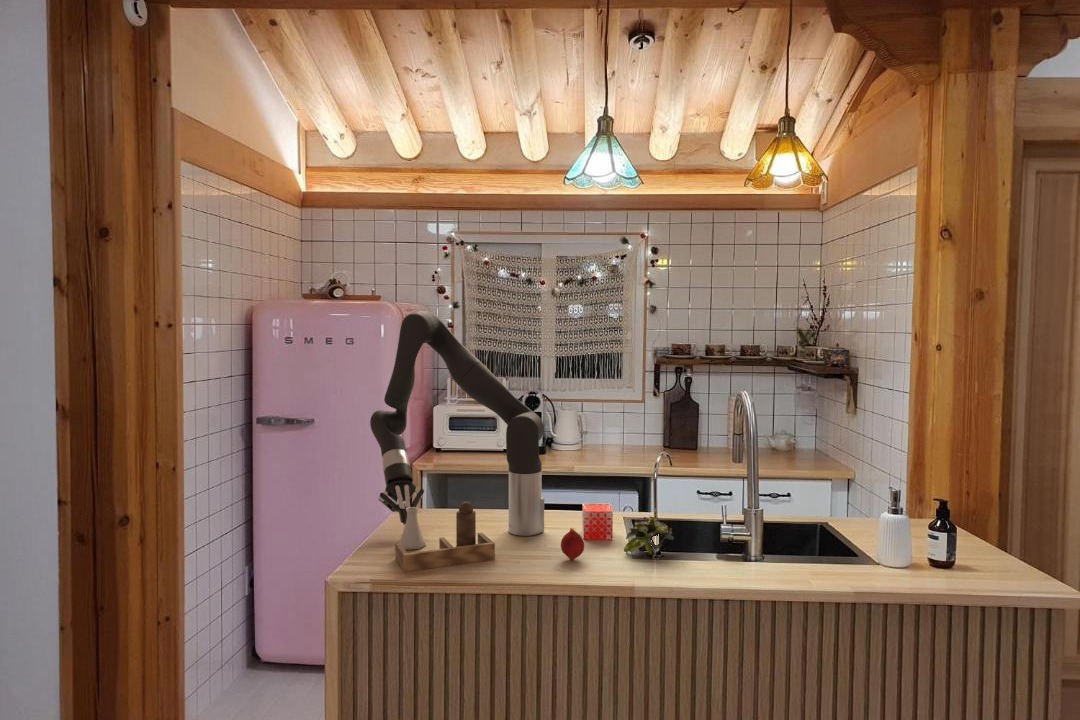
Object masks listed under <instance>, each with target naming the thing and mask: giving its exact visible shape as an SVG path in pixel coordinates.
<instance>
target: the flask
mask: <svg viewBox="0 0 1080 720" xmlns="http://www.w3.org/2000/svg"><path fill="white" fill-rule="evenodd" d="M418 511H419V509H418V507H417V506H416V507H408V508H406V512H407V519H406V524H405V525H404V529H403V531H402V534H401V535H400V540H399V542H398V543H401V544H402V546H403V547H404V549H405V550H406V551H408V550H410V551H411V550H420V549H422V548H424V547H426V540H425V539H424V536H423V534H422V531H421V527H420V525H419V521H418Z"/></svg>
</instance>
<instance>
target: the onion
mask: <svg viewBox="0 0 1080 720" xmlns="http://www.w3.org/2000/svg"><path fill="white" fill-rule="evenodd" d="M584 541H585V540H583V536H581V535H580V533H579V532H577V531H576V530H575V529H574V528H573V527H570V529H569V531H567V533H566V534H564V535H563V537H562V539H561V542H560V550H561V552H562V553H563V554H564V555H565V556H566V557H567V558H568V559H569V560H571V561H574V560H575V559H576V558H579V557H580V556H581V555H582V554H583V553H584V550H585V542H584Z"/></svg>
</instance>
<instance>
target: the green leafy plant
mask: <svg viewBox="0 0 1080 720" xmlns="http://www.w3.org/2000/svg"><path fill="white" fill-rule="evenodd" d="M655 518H657V520H655ZM643 520H644V521H641V520H640V522H635V523H634V527H629V530H630V531H628V532H627V535H626V537H625V539H626V540H628V539H629V538H631V537H633V538H632V539H629V541H628V542H627V543H626V544H625V547H624V549H623V552H625V554H626V555H627V554H628V553H629V552H630V553H632V552H635V551H637V550H638V549H640V548H642V547H644V546H645V547H644V548H645V549H646V551H647V553H648V554H650V555H652V560H654V558H655V555H656V553H657V551H658V549H660V548H662V547H663V542H664V541H665V539H668V540H670V541H674V536H673V535H672V534H673V532H672V531H673V527H670V528H669V525H667V524H666V523H664V522H661V521H660V520H659V517H655V516H648V517H647V516H644V517H643ZM658 534H659V544H658V545H655V544H654V542H653V540H652V537H653V536H656V535H657V536H658ZM634 536H635V537H634ZM651 540H652V542H651ZM651 545H652V546H651Z"/></svg>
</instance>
